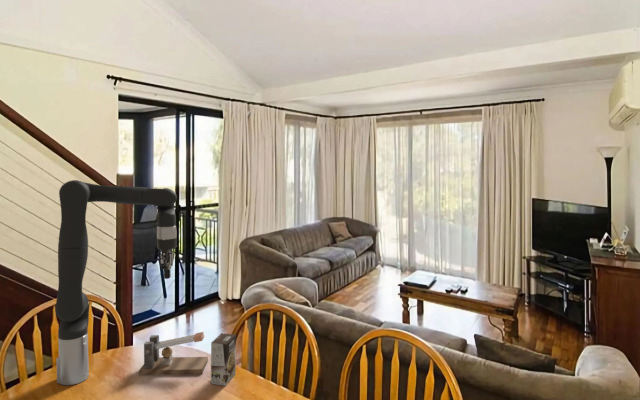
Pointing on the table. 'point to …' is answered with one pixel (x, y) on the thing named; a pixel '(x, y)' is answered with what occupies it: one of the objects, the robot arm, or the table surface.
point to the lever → (179, 341)
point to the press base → (177, 366)
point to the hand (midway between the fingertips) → (167, 278)
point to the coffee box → (223, 359)
